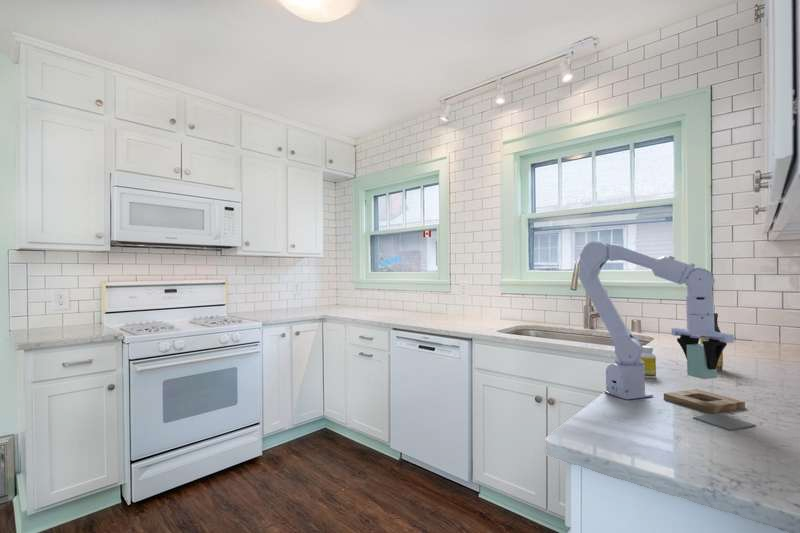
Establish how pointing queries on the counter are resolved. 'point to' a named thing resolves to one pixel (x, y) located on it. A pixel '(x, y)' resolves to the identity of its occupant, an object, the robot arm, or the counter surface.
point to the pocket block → (712, 406)
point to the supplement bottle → (649, 362)
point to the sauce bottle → (720, 361)
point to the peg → (698, 362)
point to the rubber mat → (724, 421)
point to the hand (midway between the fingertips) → (701, 367)
